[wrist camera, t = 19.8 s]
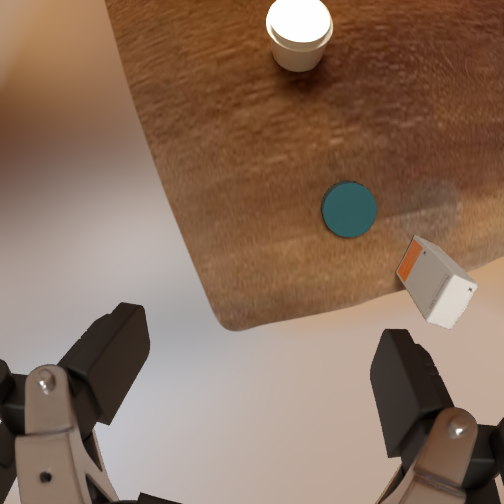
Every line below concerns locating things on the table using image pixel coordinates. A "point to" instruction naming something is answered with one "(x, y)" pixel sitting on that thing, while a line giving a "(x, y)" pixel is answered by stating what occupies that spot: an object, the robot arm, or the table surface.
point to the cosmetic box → (435, 283)
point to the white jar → (298, 33)
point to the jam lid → (348, 209)
